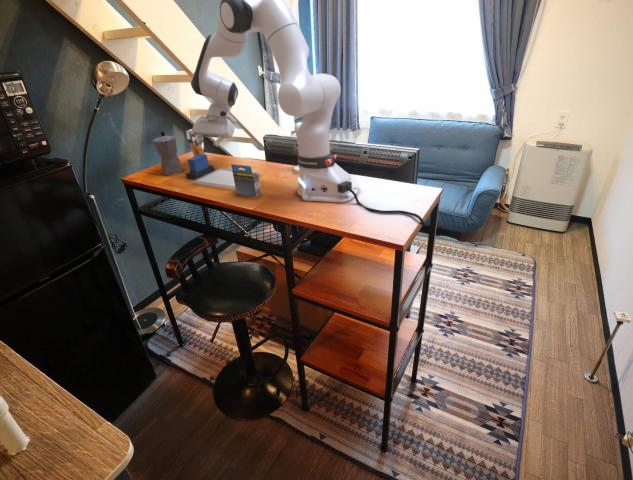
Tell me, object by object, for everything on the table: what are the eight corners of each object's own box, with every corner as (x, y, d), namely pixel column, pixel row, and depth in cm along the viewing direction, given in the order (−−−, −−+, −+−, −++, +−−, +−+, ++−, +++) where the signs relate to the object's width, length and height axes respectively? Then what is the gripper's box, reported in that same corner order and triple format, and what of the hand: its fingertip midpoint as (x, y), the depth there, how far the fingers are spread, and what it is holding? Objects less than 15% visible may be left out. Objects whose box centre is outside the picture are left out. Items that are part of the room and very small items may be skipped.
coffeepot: (186, 174, 153) (175, 132, 144) (164, 178, 149) (151, 136, 140) (181, 164, 165) (171, 126, 156) (160, 168, 161) (148, 129, 152)
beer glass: (197, 159, 171) (189, 128, 163) (210, 159, 170) (203, 128, 162) (190, 164, 165) (182, 132, 157) (204, 164, 164) (197, 132, 156)
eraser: (214, 171, 152) (211, 153, 148) (195, 180, 143) (191, 161, 139) (206, 169, 154) (202, 152, 150) (187, 179, 145) (182, 160, 141)
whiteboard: (261, 175, 146) (260, 173, 145) (235, 191, 132) (234, 188, 132) (220, 170, 155) (220, 168, 154) (192, 184, 141) (191, 182, 141)
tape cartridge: (262, 195, 127) (257, 162, 121) (256, 199, 124) (251, 166, 118) (242, 192, 131) (236, 160, 124) (236, 196, 128) (230, 164, 121)
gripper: (194, 111, 152) (184, 139, 150) (231, 113, 144) (221, 142, 142) (203, 120, 158) (193, 147, 156) (239, 122, 150) (229, 150, 148)
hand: (207, 145), depth 149 cm, fingers open, 8 cm apart
